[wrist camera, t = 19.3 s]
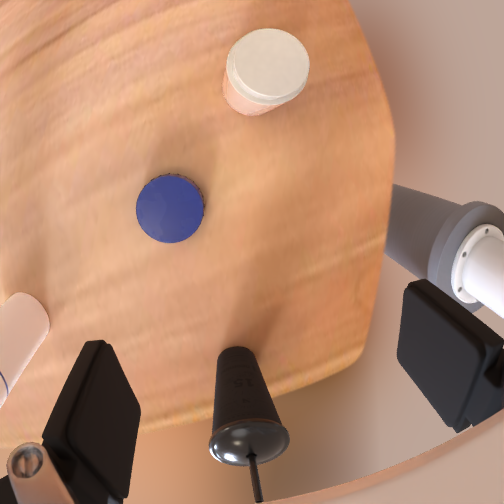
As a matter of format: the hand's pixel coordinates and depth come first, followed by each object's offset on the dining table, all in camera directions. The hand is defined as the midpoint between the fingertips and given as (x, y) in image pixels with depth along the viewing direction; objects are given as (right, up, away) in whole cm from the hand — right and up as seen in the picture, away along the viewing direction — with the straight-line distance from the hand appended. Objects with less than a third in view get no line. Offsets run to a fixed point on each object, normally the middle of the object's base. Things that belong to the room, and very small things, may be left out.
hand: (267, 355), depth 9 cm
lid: (-8, +7, +21) cm, 23 cm away
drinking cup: (-2, -11, +30) cm, 31 cm away
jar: (0, +19, +19) cm, 27 cm away
